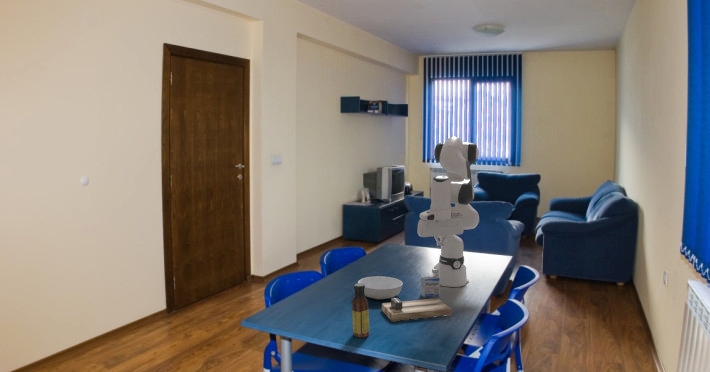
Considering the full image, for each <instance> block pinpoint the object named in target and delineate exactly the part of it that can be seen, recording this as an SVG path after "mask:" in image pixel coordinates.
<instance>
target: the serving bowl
mask: <svg viewBox="0 0 710 372" xmlns="http://www.w3.org/2000/svg"><path fill="white" fill-rule="evenodd" d="M357 283H362V284H364V285H365V288H364V294H365V297H366V298H371V299H374V300H386V299H391V298H396V296H398V295H399V294H400V293H401V291H402V289H403V285H404V282H403V281H402V280H400V279H398V278H395V277H391V276H383V275H382V276H381V275H380V276H379V275H377V276H367V277H362V278H361V279H359V280H358V281H357Z"/></svg>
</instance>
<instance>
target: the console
mask: <svg viewBox="0 0 710 372" xmlns="http://www.w3.org/2000/svg"><path fill="white" fill-rule="evenodd" d="M401 301H402V300H401ZM381 312H383V313H384V315H386V317H387V318H388V319H389V321H391V322H393V323H394V322H401V321H400V320H404V321H410V320H409V319H414V320H417V319H416V318H424V319H428V318H427V317H433V318H435V317H434V316H443V317H445V316H444V315H451V316H452V307H449V305H447V304H445V303H444V302H443V301H442V300H440V299H439V298H428V299H427V298H426V299H414V300H405V301H402V309H400V310H395V309H394V308H393V307H392V306H391V302H383V303H381Z"/></svg>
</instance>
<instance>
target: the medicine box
mask: <svg viewBox="0 0 710 372" xmlns="http://www.w3.org/2000/svg"><path fill="white" fill-rule="evenodd" d="M440 287H441V285H440V278H438V277H437V276H432V277H429V276H423V277H420V295H421V296H422V297H423V298H433V297H434V296H435V297H440V293H441V291H440V290H441V289H440Z"/></svg>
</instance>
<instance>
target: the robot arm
mask: <svg viewBox="0 0 710 372" xmlns="http://www.w3.org/2000/svg"><path fill="white" fill-rule="evenodd" d="M433 149H434V151H433V156H434V160H435V161H436V162H437V163H439V164H440V166H441V168H442V169H443V170H445V175H436V176H434V177H432V179H431V185H430V188H429V198H430V201H431V203H430V207H429V209H427V210H425V211H422V212H421V213H419V218H420V219H419V220H418V222H417V229H416V230H417V235H418V236H419V237H420V238H431V237H434V239H435V241H436V246H438V247H440V254H439V258H438V263H436V264H435V265H434V266H433V268H432V270H431V274H428V277H432V276H437V277H438V278H440V286H442V287H446V288H447V287H449V288H460V287H465V286H466V285H467V284H469V282H470V280H469V279H468V278H467V266H466V265H465V256H464V241H463V239H462V238H461V237H459V236H458V235H462V234H463V233H464V230H466V231H467V230H473V229H475V228H476V227H478V224H479V223H480V216H479V213H478V211H477V210H476V209H475V208H474V207H473V206H472V205H471V203H472V202H473V201H474V199H475V188H474V186H473V181H472V180H473V178H472V170H471V166H472V165H474V164H475V163H476V162H477V160H478V159H479V155H480V152H479V151H480V150H479V148H478V145H477V144H476V143H474V142H464V141H463V140H462V139H461V138H459V137H457V136H451V137H447V139H446V140H445V142H444V141H443V142H438V143H437V144H436V145H435V147H434V148H433ZM452 204H454V206H452Z"/></svg>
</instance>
